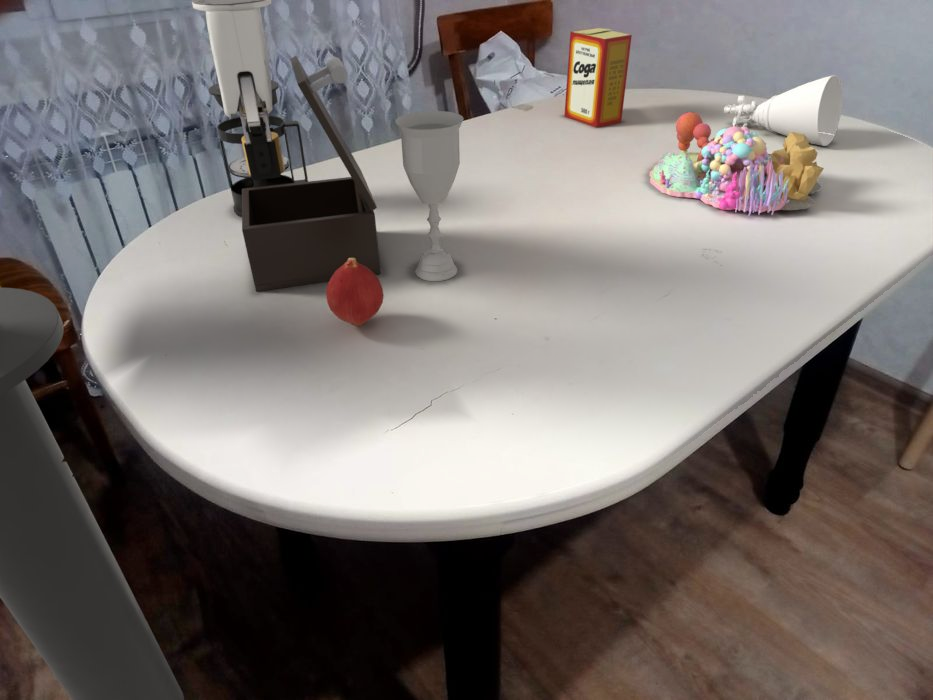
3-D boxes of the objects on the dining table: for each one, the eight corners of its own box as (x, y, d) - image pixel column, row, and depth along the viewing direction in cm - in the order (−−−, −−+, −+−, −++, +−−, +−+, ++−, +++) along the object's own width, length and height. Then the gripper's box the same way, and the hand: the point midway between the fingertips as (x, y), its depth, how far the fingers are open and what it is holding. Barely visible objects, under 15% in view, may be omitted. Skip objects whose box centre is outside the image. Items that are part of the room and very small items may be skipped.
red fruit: (321, 321, 71) (310, 254, 66) (368, 304, 73) (361, 239, 69) (347, 346, 67) (337, 276, 62) (395, 327, 69) (389, 259, 65)
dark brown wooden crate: (256, 291, 76) (241, 229, 72) (254, 245, 86) (241, 188, 82) (380, 274, 79) (374, 213, 75) (365, 231, 89) (359, 175, 85)
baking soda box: (621, 121, 129) (632, 32, 120) (596, 127, 126) (605, 36, 117) (588, 111, 136) (596, 25, 127) (564, 116, 133) (570, 29, 124)
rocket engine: (727, 70, 122) (832, 61, 110) (747, 103, 130) (847, 97, 118) (708, 128, 121) (812, 125, 109) (730, 157, 130) (828, 157, 118)
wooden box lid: (297, 84, 65) (341, 59, 65) (289, 58, 75) (328, 37, 75) (371, 211, 74) (410, 190, 74) (355, 173, 84) (390, 155, 84)
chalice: (416, 289, 76) (405, 133, 66) (399, 264, 81) (387, 115, 71) (474, 277, 78) (473, 124, 68) (454, 253, 83) (450, 107, 73)
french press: (227, 223, 92) (185, 45, 79) (230, 198, 99) (192, 31, 86) (313, 214, 94) (285, 39, 81) (309, 190, 102) (284, 27, 88)
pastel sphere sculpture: (809, 166, 107) (826, 108, 102) (833, 225, 89) (855, 157, 84) (652, 154, 113) (660, 99, 108) (644, 207, 95) (654, 143, 89)
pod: (246, 178, 73) (238, 143, 71) (252, 166, 77) (244, 132, 74) (282, 176, 74) (275, 141, 71) (286, 164, 77) (280, 130, 75)
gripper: (194, -18, 70) (232, 151, 81) (183, 3, 57) (231, 202, 68) (266, -22, 72) (294, 145, 82) (271, -2, 59) (304, 193, 69)
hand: (265, 169), depth 75 cm, fingers closed on pod, 4 cm apart
